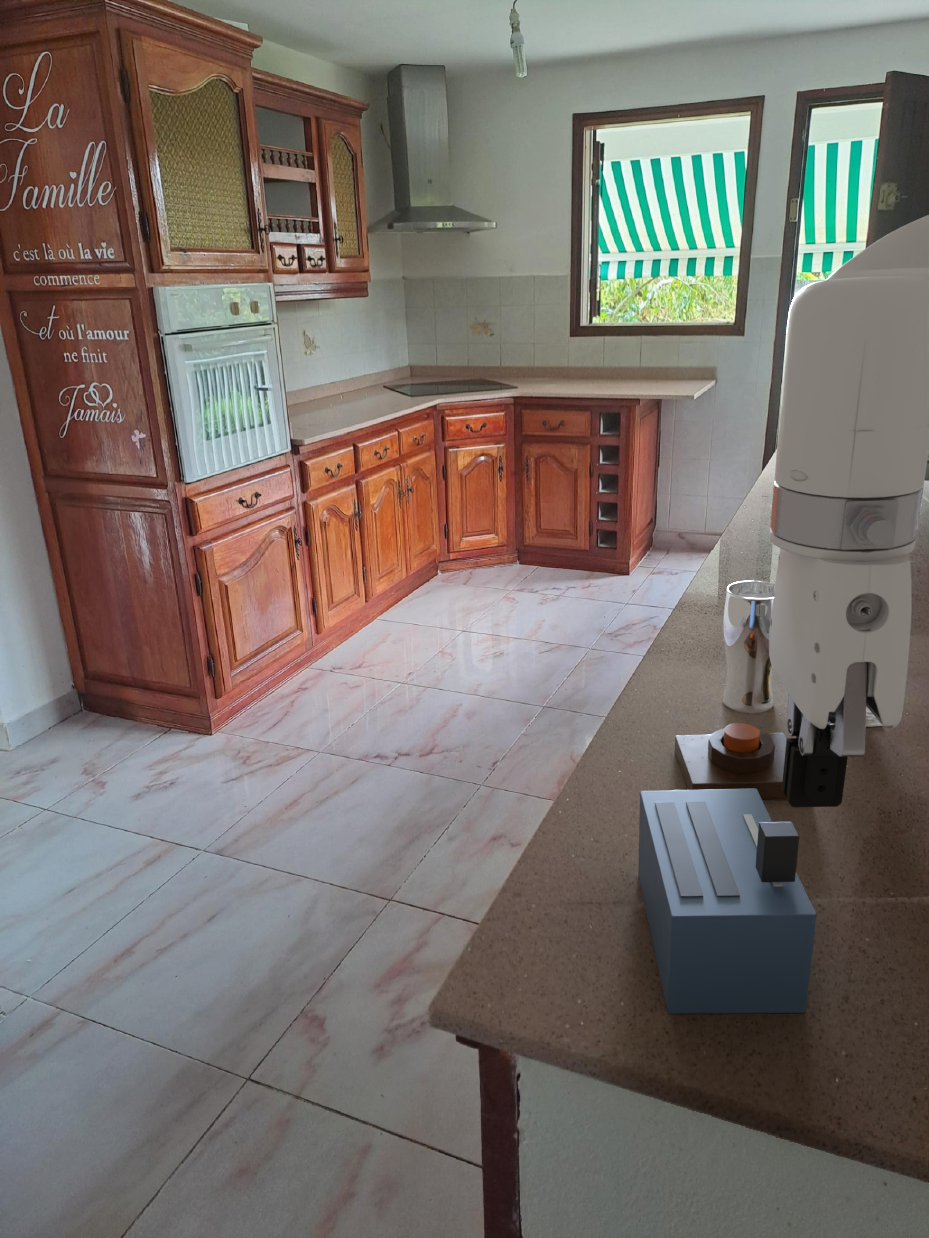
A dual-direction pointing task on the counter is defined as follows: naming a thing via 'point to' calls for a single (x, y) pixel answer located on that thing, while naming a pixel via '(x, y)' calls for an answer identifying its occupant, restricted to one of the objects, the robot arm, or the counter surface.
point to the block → (732, 764)
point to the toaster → (720, 906)
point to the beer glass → (748, 647)
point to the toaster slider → (777, 851)
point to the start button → (741, 737)
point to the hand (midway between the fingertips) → (810, 799)
